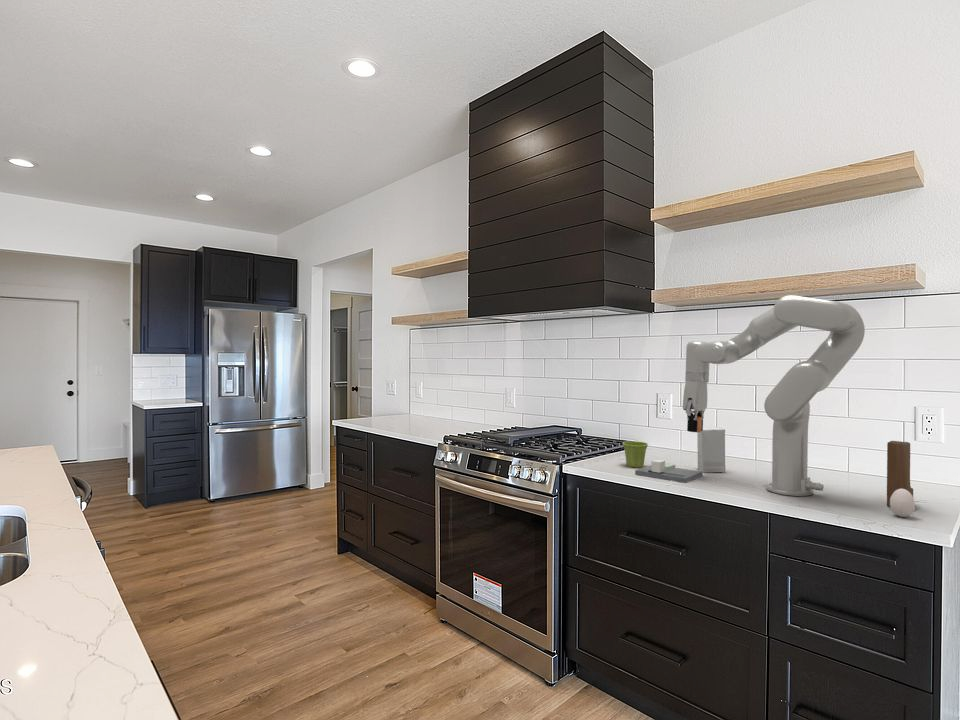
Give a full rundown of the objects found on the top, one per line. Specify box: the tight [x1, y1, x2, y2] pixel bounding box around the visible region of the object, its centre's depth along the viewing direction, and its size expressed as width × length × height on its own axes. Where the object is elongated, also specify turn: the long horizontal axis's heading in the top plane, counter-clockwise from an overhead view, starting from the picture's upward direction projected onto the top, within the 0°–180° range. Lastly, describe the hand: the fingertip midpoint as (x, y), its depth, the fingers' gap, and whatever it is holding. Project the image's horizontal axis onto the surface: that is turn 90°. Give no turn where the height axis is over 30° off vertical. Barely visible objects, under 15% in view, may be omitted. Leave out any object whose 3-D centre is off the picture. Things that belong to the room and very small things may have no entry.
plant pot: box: [622, 440, 649, 468], centre depth 211 cm, size 9×9×9 cm
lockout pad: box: [665, 462, 676, 470], centre depth 202 cm, size 6×6×1 cm
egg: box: [889, 489, 916, 518], centre depth 146 cm, size 5×5×7 cm
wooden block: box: [886, 440, 914, 508], centre depth 157 cm, size 9×4×18 cm, turn 133°
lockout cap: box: [696, 416, 702, 433], centre depth 193 cm, size 4×4×5 cm
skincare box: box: [696, 426, 726, 474], centre depth 202 cm, size 8×7×16 cm
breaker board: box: [634, 465, 704, 484], centre depth 196 cm, size 18×14×2 cm
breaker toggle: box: [650, 459, 666, 473], centre depth 194 cm, size 3×4×4 cm
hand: (694, 430), depth 193 cm, fingers closed on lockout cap, 4 cm apart
